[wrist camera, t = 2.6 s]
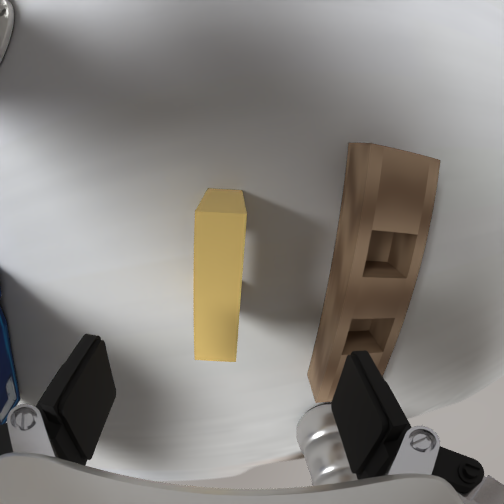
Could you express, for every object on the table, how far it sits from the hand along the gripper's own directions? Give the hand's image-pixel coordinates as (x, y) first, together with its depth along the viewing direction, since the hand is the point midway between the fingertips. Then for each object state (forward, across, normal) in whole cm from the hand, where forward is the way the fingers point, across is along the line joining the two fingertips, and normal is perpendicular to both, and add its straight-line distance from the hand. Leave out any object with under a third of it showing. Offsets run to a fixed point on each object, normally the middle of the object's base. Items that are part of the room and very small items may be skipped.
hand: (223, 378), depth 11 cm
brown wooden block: (+14, -11, +2) cm, 18 cm away
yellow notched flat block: (+14, +1, 0) cm, 14 cm away
